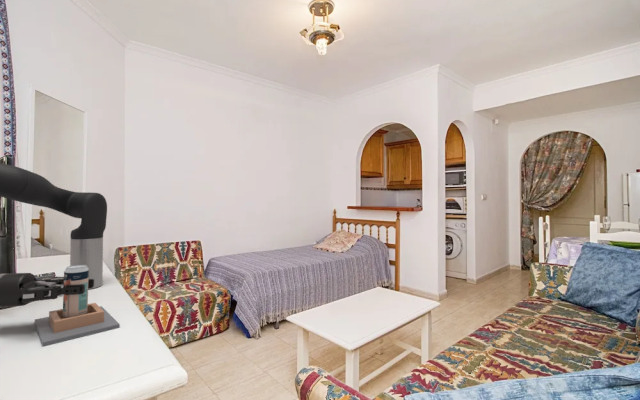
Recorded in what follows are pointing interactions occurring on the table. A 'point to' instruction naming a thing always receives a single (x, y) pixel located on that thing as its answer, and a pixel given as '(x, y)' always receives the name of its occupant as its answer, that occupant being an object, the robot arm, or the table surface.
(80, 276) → the beer can
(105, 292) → the table surface
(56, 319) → the socket plate
